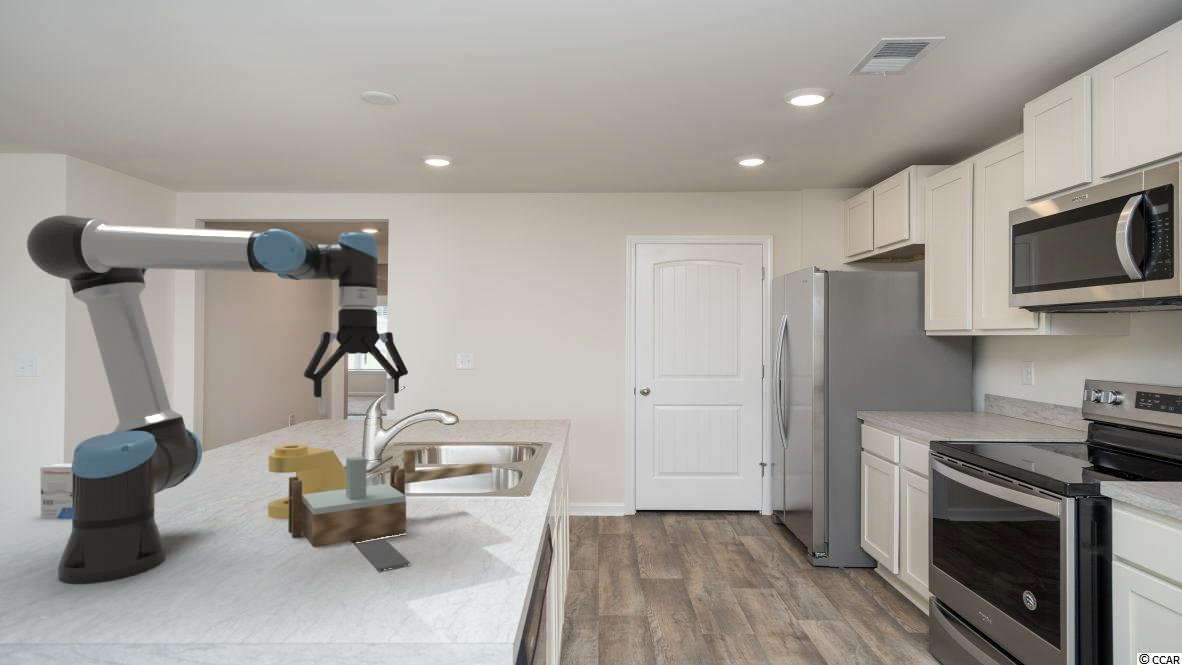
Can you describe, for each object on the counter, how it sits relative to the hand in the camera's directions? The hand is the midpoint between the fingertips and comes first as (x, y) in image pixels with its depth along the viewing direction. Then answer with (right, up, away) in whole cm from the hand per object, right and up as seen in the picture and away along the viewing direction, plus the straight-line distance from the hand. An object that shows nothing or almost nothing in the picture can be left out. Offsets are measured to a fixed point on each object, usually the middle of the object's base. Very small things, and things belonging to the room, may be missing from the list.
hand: (357, 411), depth 129 cm
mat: (+3, -26, -16) cm, 30 cm away
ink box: (-71, -26, +13) cm, 77 cm away
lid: (-1, -19, +1) cm, 19 cm away
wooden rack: (-1, -26, +1) cm, 26 cm away
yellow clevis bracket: (-18, -26, +19) cm, 37 cm away
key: (+14, -18, +17) cm, 28 cm away
